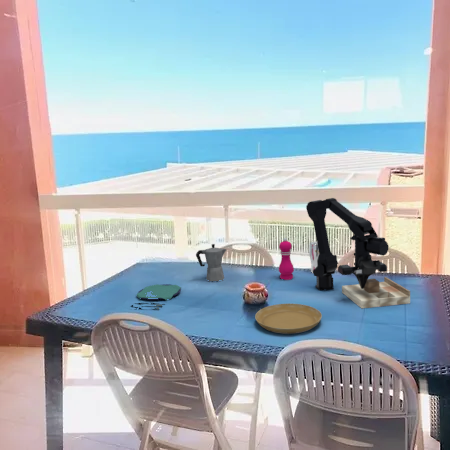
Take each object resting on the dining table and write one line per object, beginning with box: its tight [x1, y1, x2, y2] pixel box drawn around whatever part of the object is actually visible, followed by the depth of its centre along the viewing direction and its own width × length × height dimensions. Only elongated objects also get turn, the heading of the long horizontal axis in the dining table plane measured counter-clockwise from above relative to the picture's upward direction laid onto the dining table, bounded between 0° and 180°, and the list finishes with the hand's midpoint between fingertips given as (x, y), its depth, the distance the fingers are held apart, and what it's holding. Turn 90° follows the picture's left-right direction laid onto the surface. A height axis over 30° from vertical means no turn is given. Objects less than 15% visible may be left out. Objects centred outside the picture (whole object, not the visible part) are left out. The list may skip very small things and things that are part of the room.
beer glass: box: [308, 241, 319, 274], centre depth 228 cm, size 7×7×15 cm
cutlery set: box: [136, 283, 182, 309], centre depth 204 cm, size 20×30×2 cm, turn 165°
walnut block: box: [364, 278, 380, 293], centre depth 187 cm, size 4×4×4 cm
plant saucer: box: [254, 303, 323, 335], centre depth 168 cm, size 24×24×3 cm
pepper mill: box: [278, 237, 295, 281], centre depth 221 cm, size 7×7×20 cm
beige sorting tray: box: [341, 276, 411, 309], centre depth 188 cm, size 20×20×5 cm
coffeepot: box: [195, 243, 227, 282], centre depth 225 cm, size 15×9×18 cm, turn 103°
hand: (362, 288), depth 187 cm, fingers closed
